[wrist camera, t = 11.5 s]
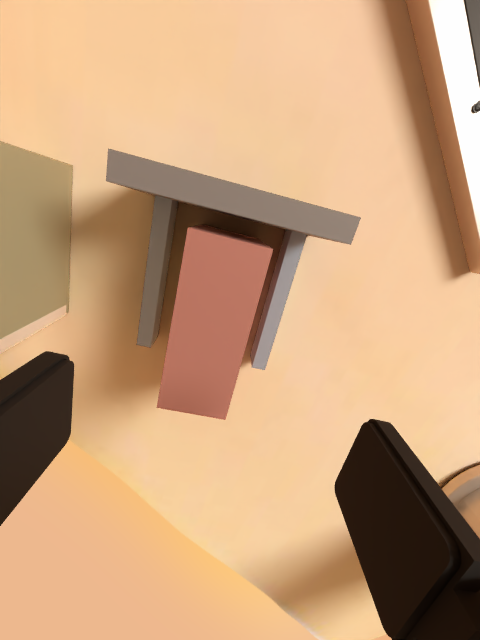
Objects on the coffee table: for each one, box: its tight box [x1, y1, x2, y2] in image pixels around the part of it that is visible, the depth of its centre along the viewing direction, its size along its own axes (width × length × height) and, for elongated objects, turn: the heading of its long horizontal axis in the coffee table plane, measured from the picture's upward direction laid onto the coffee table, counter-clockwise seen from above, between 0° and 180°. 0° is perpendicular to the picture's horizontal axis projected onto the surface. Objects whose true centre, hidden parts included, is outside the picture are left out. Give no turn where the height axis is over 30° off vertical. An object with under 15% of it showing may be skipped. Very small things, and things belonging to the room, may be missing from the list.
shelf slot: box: [106, 149, 361, 370], centre depth 17 cm, size 11×11×7 cm
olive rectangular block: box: [0, 141, 73, 354], centre depth 15 cm, size 3×10×8 cm, turn 166°
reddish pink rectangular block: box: [157, 224, 273, 420], centre depth 17 cm, size 4×10×7 cm, turn 166°
